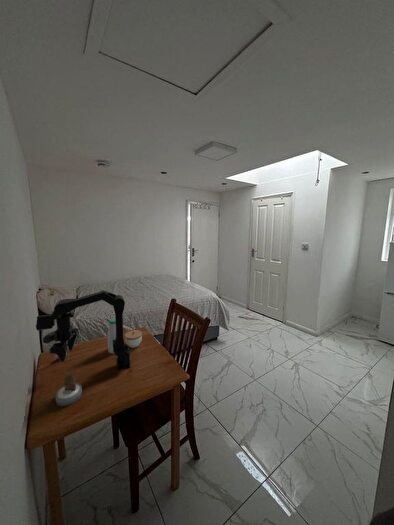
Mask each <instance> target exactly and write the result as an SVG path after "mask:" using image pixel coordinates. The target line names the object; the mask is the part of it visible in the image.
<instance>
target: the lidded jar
mask: <svg viewBox="0 0 394 525" xmlns="http://www.w3.org/2000/svg"><path fill="white" fill-rule="evenodd" d="M142 340H143V333H142V331H141V330H138V329H137V330H134V329H133V330H129V331H127V332H125V333H124V342H125V345H127V346H128V347H129V348H133V349H135V348H137V347H139V345H140V344H141V343H142Z"/></svg>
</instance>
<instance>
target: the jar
mask: <svg viewBox="0 0 394 525" xmlns="http://www.w3.org/2000/svg"><path fill="white" fill-rule="evenodd" d="M75 383H76V390H75V391H71V390H66V391H65V387H64V385H63V386H62V387H60V388H59V389H58V390H57V391H56V393H55V403H56V406H59V407H67V406H70V405H73V404H74V403H76V402H77V401H79V400H80V399H81V397H82V395H83V389H82V388H83V386H82V384H80V382H79V383H78V382H75Z"/></svg>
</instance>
